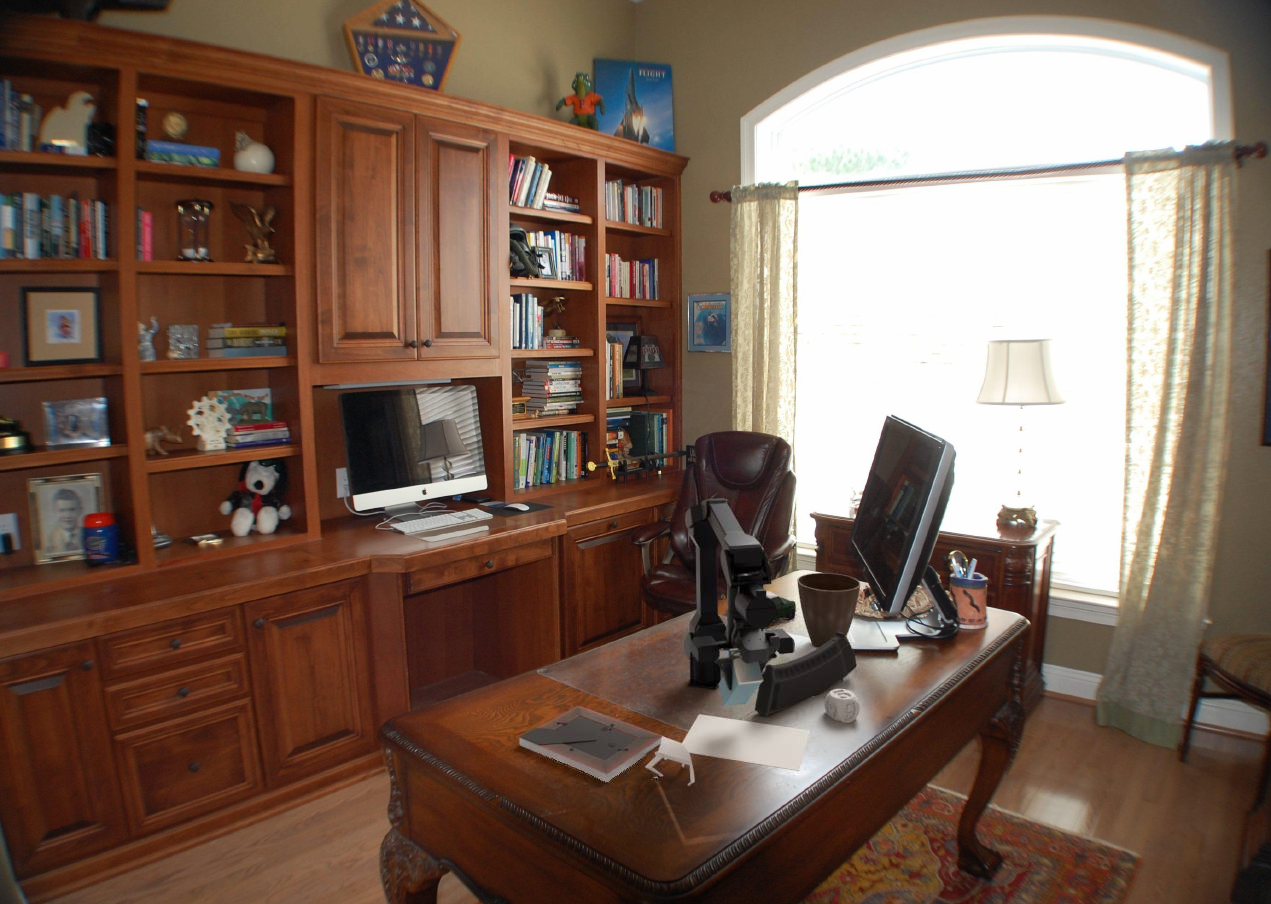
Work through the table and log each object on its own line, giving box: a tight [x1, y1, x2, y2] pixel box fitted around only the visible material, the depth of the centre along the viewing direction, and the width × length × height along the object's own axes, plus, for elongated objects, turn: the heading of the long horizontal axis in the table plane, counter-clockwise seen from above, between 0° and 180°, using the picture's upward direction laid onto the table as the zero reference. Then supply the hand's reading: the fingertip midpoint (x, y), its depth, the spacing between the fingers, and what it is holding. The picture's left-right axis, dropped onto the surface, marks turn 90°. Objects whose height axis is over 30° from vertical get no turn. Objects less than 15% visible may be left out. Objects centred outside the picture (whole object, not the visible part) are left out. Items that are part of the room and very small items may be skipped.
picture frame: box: [519, 705, 665, 783], centre depth 151 cm, size 16×2×22 cm
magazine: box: [754, 632, 857, 716], centre depth 169 cm, size 17×3×30 cm
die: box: [823, 688, 861, 724], centre depth 160 cm, size 5×5×5 cm
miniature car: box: [766, 590, 797, 622], centre depth 215 cm, size 9×18×8 cm, turn 128°
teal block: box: [718, 657, 763, 707], centre depth 153 cm, size 4×4×12 cm
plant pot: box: [797, 572, 861, 649], centre depth 197 cm, size 15×15×16 cm
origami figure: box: [644, 735, 695, 787], centre depth 139 cm, size 12×8×5 cm
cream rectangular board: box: [681, 713, 811, 771], centre depth 151 cm, size 22×15×1 cm
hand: (742, 688), depth 151 cm, fingers closed on teal block, 4 cm apart
